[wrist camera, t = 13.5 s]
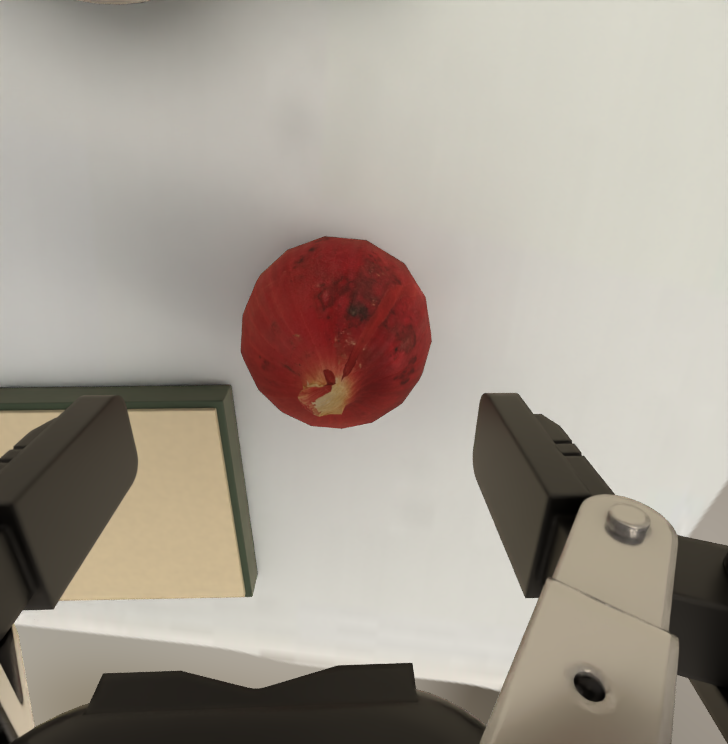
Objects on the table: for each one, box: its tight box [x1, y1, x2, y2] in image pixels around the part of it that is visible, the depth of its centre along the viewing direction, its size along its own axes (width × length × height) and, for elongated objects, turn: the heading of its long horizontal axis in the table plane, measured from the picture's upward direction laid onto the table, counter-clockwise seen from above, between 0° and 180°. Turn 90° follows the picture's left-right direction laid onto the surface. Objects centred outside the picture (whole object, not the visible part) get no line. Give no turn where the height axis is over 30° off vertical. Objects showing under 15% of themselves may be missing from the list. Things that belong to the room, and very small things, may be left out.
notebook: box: [0, 385, 257, 601], centre depth 21 cm, size 15×11×2 cm
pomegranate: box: [241, 236, 432, 429], centre depth 14 cm, size 6×6×8 cm
